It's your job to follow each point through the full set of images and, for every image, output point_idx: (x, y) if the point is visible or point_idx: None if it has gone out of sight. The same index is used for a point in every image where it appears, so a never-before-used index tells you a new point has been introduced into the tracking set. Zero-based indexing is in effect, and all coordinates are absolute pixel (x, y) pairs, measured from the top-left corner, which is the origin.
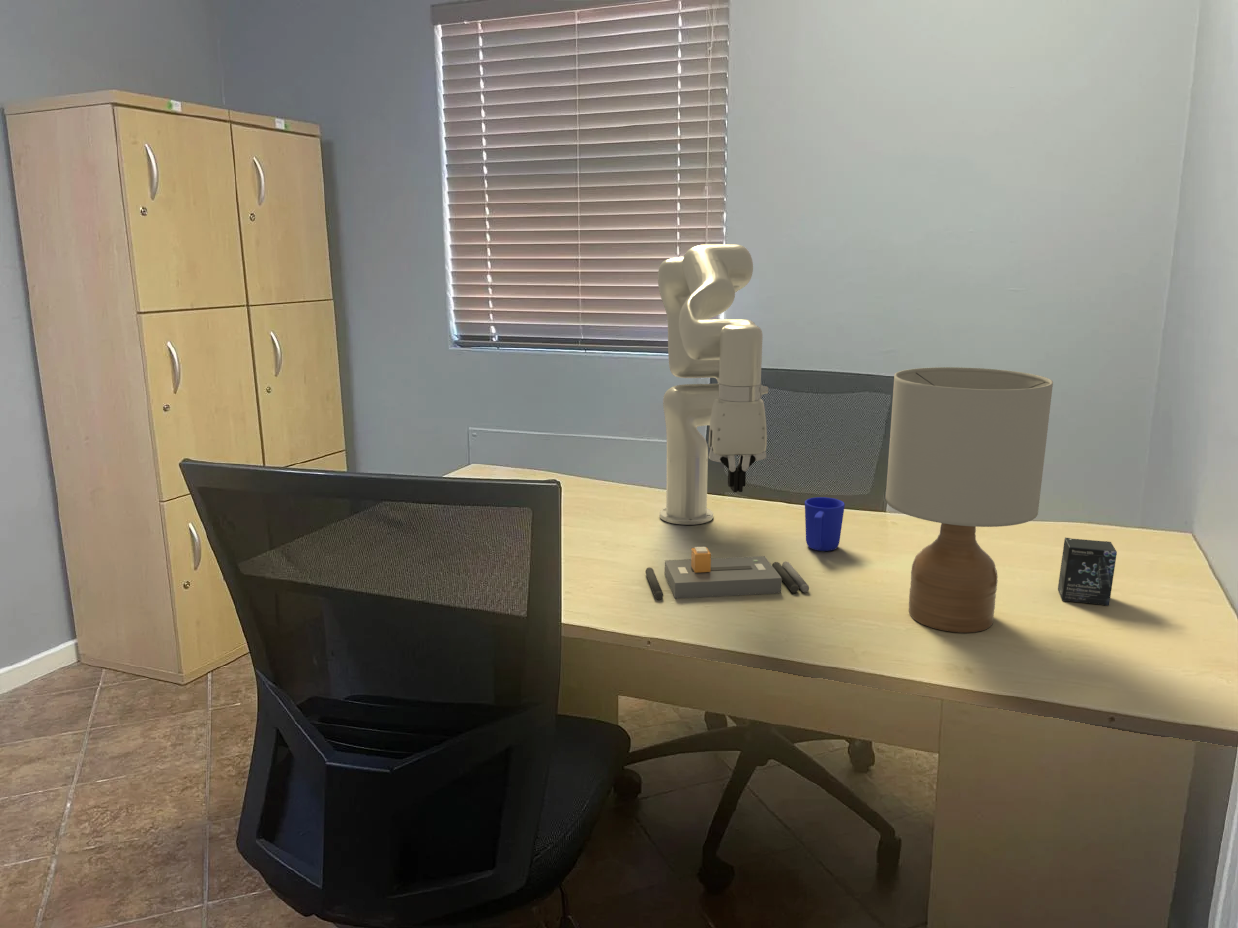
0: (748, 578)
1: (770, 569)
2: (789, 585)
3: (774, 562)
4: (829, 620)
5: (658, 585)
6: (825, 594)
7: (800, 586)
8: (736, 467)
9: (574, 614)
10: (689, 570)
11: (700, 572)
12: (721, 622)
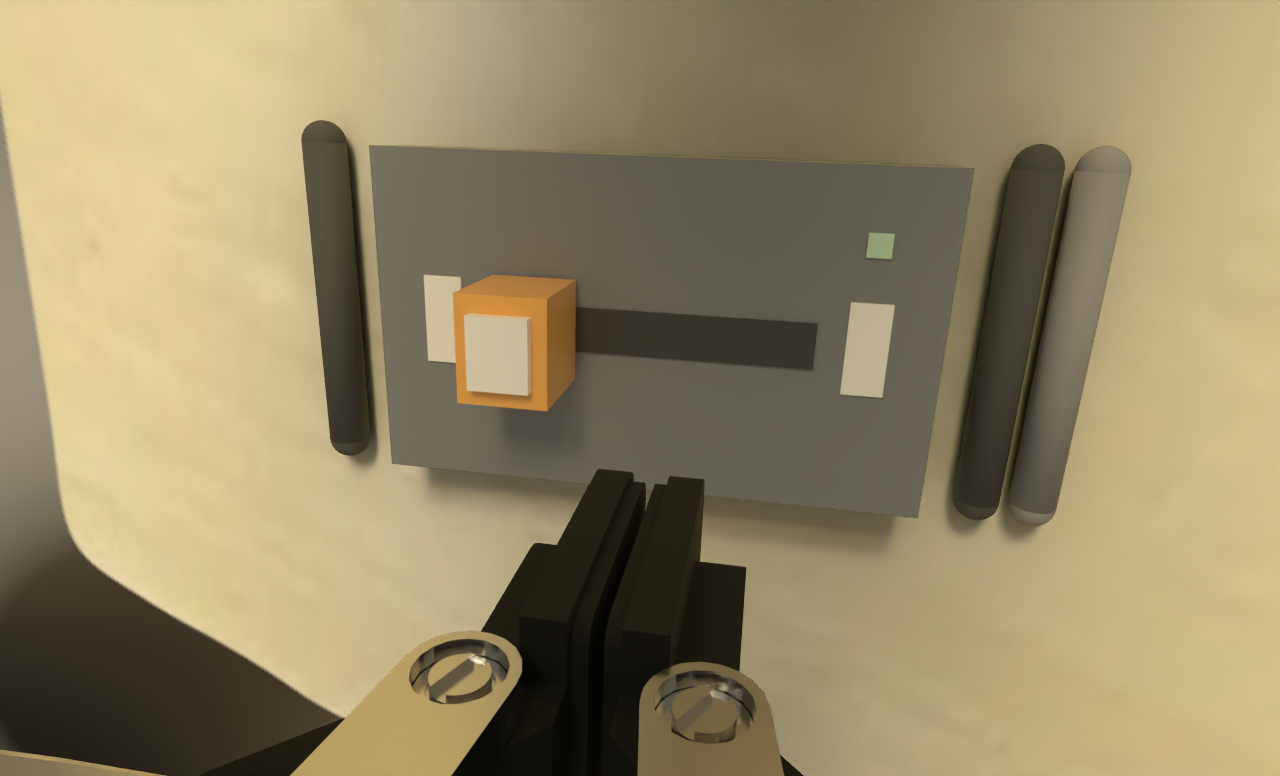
0: (745, 486)
1: (910, 395)
2: (961, 482)
3: (1032, 166)
4: (977, 763)
5: (343, 379)
6: (1114, 539)
7: (1014, 497)
8: (622, 627)
9: (67, 495)
10: None
11: None
12: None
